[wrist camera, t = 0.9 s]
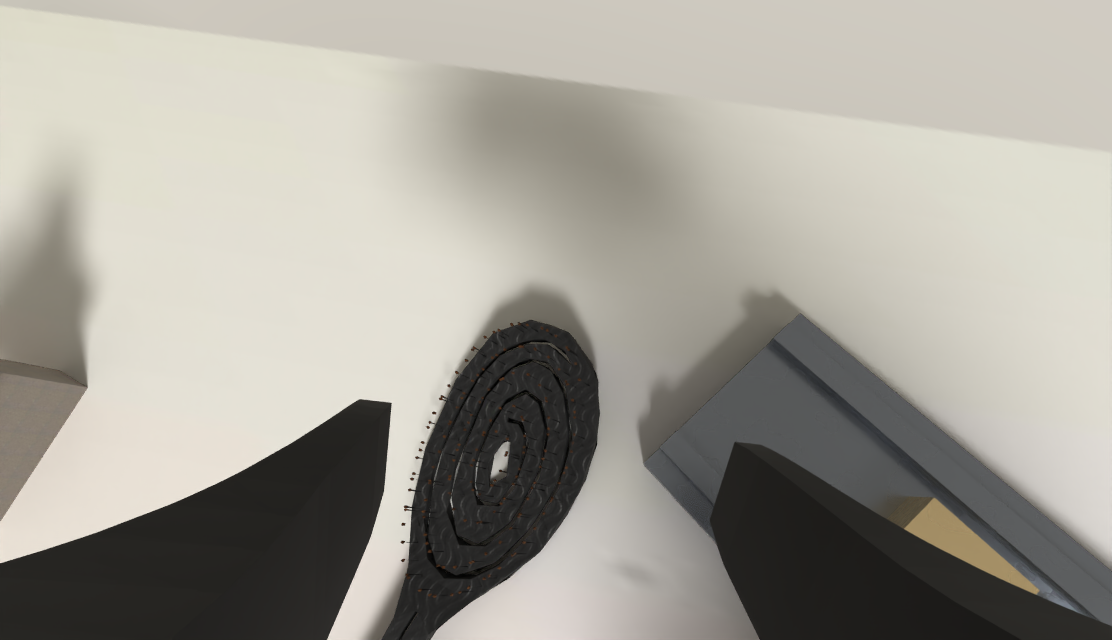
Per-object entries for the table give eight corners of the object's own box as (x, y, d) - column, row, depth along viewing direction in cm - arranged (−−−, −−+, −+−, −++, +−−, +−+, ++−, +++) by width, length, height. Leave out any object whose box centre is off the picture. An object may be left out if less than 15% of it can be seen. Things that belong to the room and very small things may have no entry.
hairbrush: (206, 817, 22) (476, 288, 25) (270, 767, 25) (498, 309, 29) (360, 962, 19) (632, 355, 23) (407, 884, 23) (636, 368, 26)
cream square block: (1002, 580, 20) (1040, 590, 18) (930, 656, 19) (960, 675, 17) (909, 496, 21) (934, 497, 19) (840, 566, 21) (859, 574, 19)
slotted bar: (1186, 661, 19) (1269, 688, 17) (1008, 861, 19) (1065, 922, 16) (789, 325, 26) (804, 307, 23) (644, 465, 25) (643, 462, 22)
